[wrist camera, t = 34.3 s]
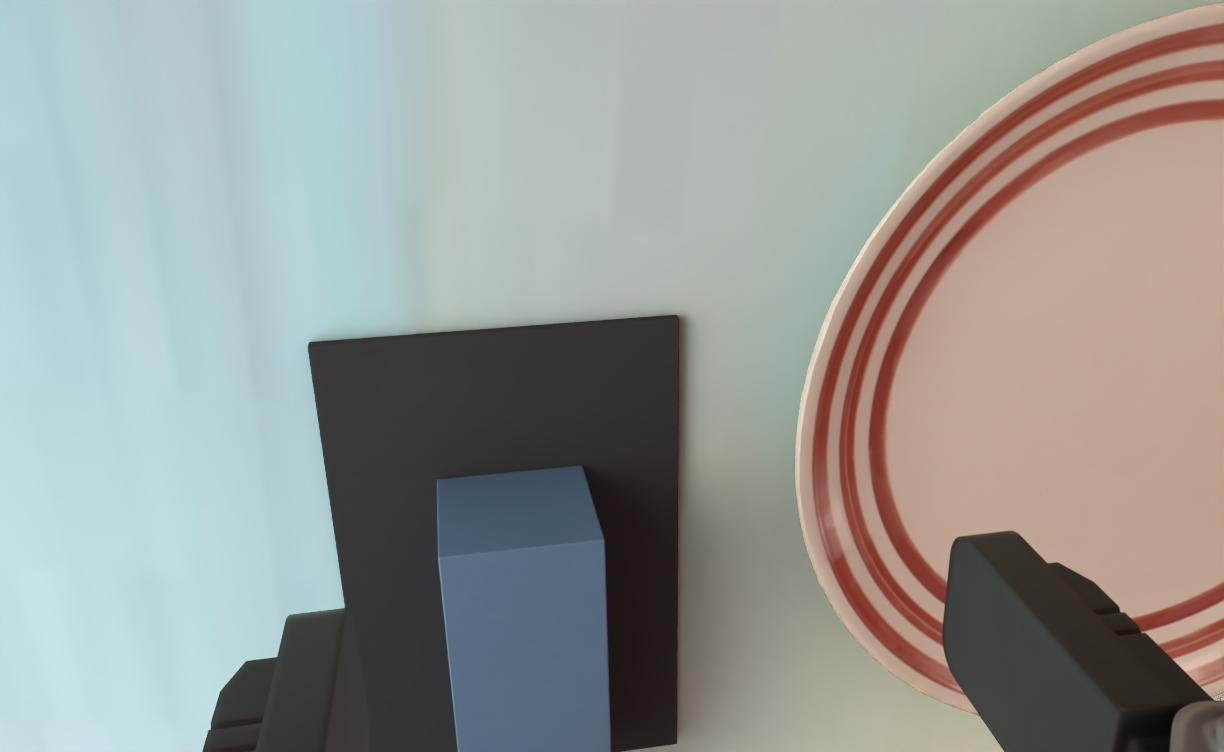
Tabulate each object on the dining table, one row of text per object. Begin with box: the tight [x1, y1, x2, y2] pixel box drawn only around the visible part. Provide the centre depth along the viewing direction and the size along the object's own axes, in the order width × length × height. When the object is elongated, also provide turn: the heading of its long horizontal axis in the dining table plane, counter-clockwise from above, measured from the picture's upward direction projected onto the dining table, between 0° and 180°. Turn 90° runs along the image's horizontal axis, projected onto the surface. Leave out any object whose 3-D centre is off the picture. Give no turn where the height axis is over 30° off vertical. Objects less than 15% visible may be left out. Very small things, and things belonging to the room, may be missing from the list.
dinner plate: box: [794, 2, 1224, 715], centre depth 37 cm, size 28×27×3 cm
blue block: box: [437, 466, 611, 752], centre depth 35 cm, size 5×5×12 cm
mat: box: [308, 315, 679, 752], centre depth 37 cm, size 12×18×1 cm, turn 2°
